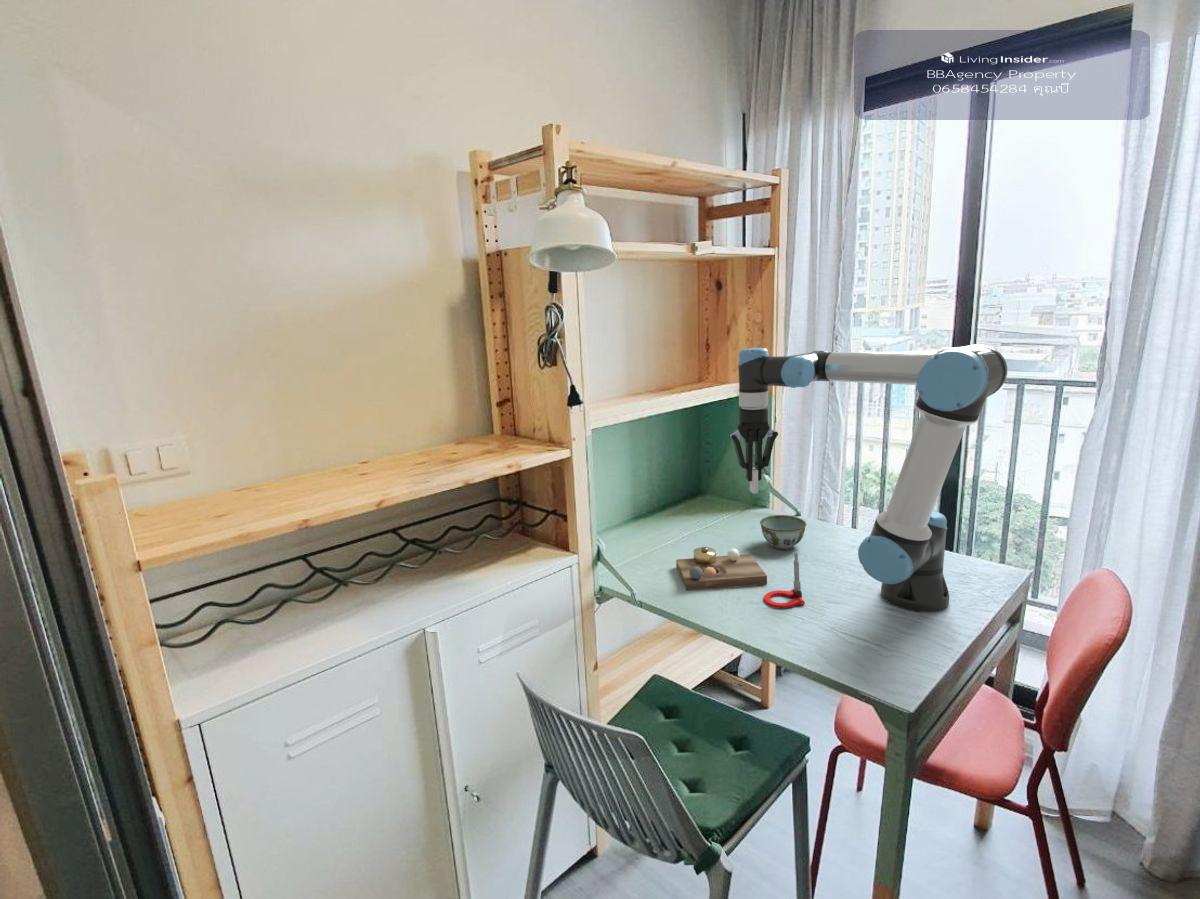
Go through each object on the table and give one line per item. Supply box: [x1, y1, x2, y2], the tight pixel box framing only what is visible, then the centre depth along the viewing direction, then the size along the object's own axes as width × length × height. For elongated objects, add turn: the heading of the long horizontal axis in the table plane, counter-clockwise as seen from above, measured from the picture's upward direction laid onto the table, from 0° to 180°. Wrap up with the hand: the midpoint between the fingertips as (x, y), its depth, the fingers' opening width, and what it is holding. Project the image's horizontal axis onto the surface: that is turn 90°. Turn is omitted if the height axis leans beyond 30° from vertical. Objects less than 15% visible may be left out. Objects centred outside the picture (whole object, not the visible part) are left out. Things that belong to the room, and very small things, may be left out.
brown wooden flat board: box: [675, 553, 768, 591], centre depth 169 cm, size 15×22×2 cm
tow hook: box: [763, 552, 806, 609], centre depth 152 cm, size 8×13×9 cm
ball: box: [704, 567, 716, 575], centre depth 168 cm, size 4×4×4 cm
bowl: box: [759, 514, 807, 551], centre depth 186 cm, size 14×13×8 cm
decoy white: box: [726, 547, 741, 561], centre depth 173 cm, size 4×4×4 cm
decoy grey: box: [689, 566, 702, 579], centre depth 163 cm, size 4×4×4 cm
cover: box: [693, 546, 717, 564], centre depth 174 cm, size 6×6×4 cm
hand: (753, 491), depth 165 cm, fingers closed
